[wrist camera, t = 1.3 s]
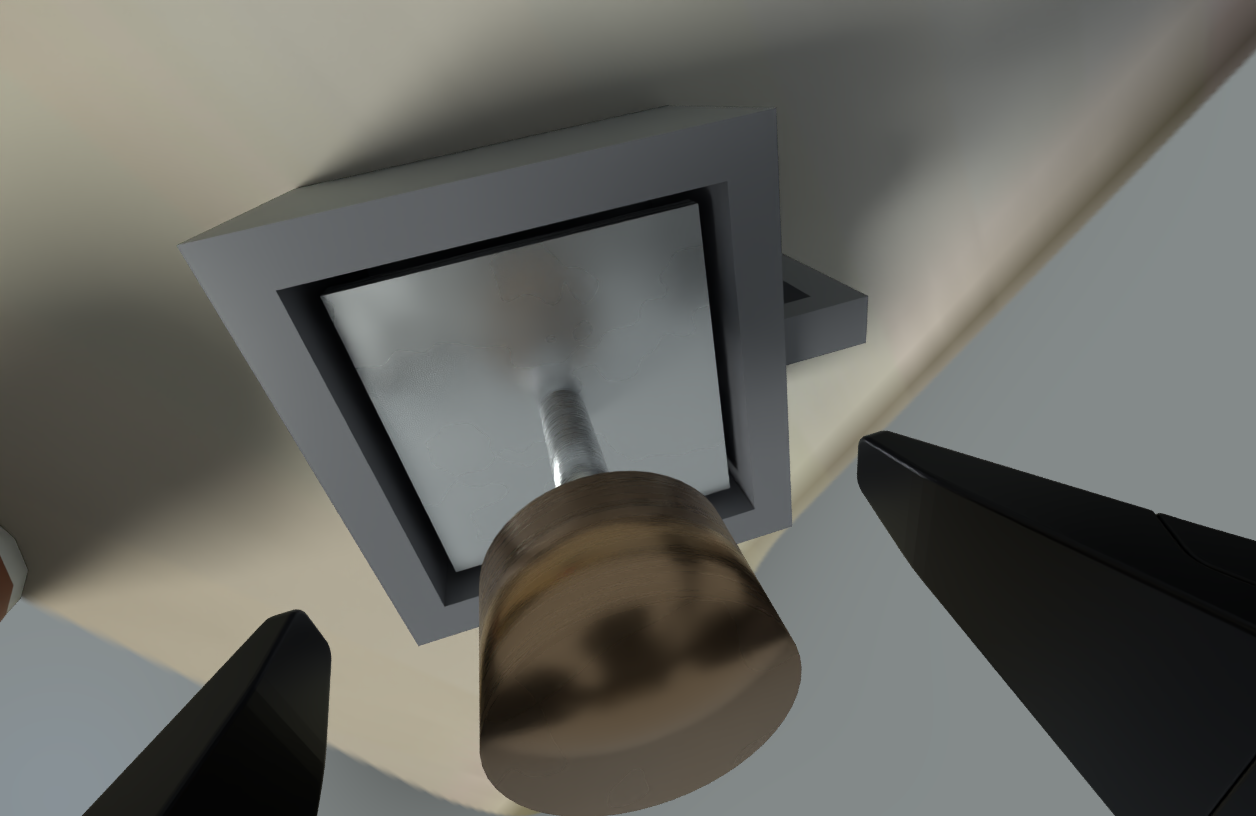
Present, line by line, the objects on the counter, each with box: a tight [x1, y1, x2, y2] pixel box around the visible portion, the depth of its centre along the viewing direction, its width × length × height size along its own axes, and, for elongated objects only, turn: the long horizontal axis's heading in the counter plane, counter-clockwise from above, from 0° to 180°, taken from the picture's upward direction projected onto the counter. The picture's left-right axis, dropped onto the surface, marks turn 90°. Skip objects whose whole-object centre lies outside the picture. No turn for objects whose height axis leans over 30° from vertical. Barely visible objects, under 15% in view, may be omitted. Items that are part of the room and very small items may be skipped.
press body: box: [177, 106, 868, 646], centre depth 15 cm, size 12×10×6 cm
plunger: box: [320, 199, 801, 816], centre depth 9 cm, size 7×7×8 cm
